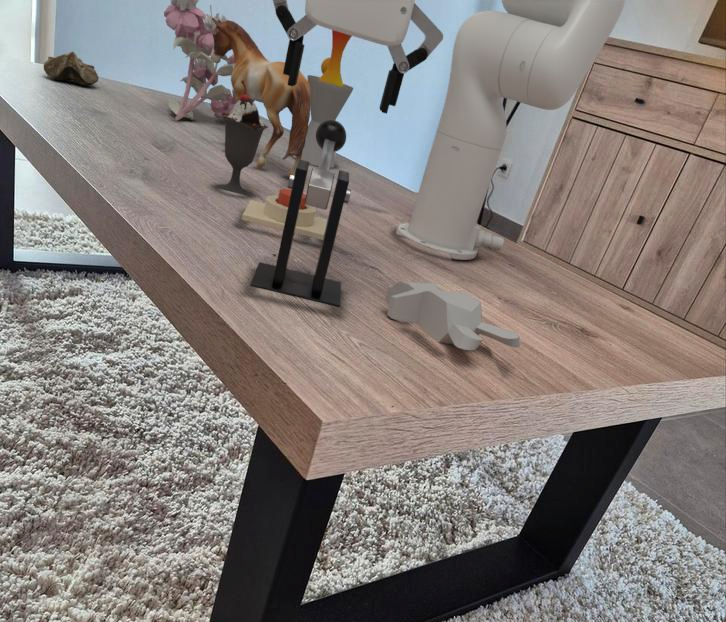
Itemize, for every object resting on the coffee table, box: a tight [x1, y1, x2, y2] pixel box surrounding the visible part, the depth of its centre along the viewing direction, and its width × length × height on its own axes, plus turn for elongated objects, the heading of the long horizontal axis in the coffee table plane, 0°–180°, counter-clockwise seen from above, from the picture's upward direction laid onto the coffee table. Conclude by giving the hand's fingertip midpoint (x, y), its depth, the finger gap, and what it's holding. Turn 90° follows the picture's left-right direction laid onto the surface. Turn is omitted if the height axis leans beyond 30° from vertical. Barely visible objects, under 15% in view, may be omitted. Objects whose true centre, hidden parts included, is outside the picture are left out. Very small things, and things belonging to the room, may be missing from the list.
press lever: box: [304, 120, 347, 211], centre depth 68 cm, size 12×3×3 cm, turn 0°
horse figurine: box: [210, 17, 311, 178], centre depth 116 cm, size 31×8×21 cm, turn 39°
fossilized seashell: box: [43, 50, 100, 87], centre depth 141 cm, size 8×7×10 cm
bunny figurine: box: [384, 281, 521, 351], centre depth 68 cm, size 10×5×15 cm
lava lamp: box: [291, 30, 354, 169], centre depth 128 cm, size 9×9×35 cm
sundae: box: [215, 80, 270, 197], centre depth 96 cm, size 7×7×15 cm
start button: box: [277, 188, 306, 210], centre depth 88 cm, size 4×4×2 cm
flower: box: [163, 0, 236, 122], centre depth 139 cm, size 20×22×25 cm
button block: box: [241, 194, 328, 241], centre depth 89 cm, size 11×8×4 cm
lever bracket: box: [250, 160, 352, 308], centre depth 68 cm, size 7×9×13 cm
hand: (337, 98), depth 69 cm, fingers open, 9 cm apart
